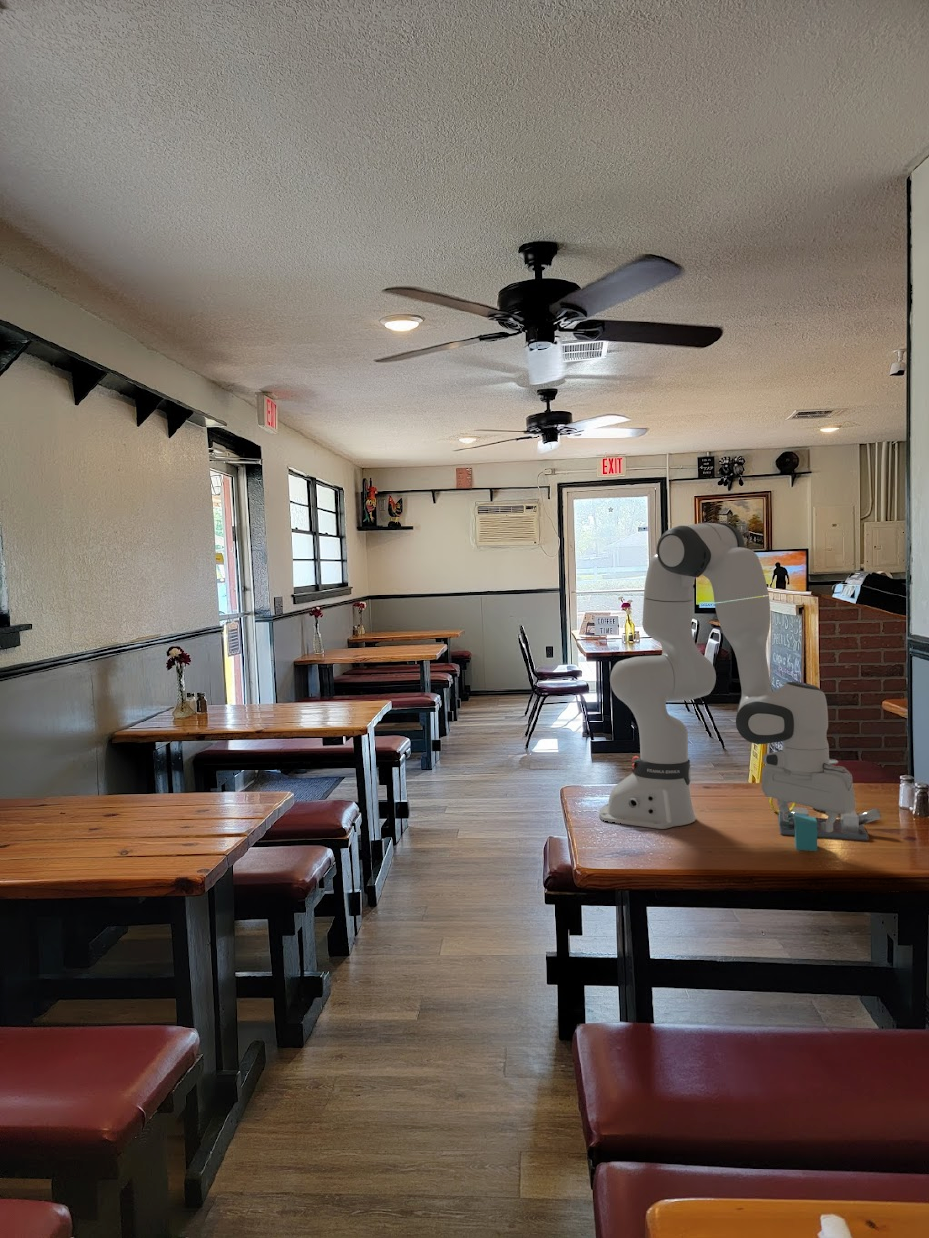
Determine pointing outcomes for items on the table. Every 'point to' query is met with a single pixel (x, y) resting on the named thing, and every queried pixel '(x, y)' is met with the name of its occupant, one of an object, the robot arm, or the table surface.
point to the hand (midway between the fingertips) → (807, 826)
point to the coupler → (805, 833)
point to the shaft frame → (834, 824)
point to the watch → (778, 810)
